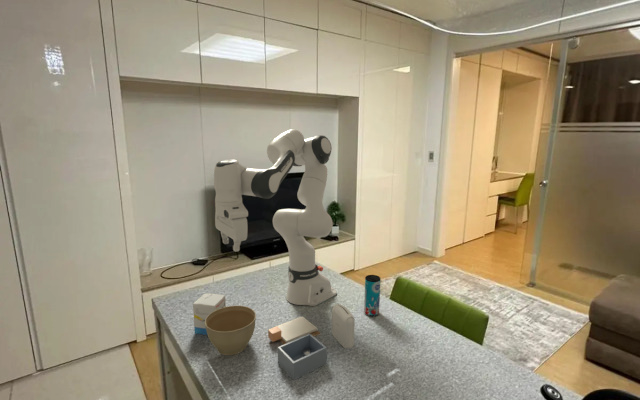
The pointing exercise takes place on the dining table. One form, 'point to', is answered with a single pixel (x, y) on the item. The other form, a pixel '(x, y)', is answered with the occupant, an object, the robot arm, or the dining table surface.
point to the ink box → (206, 310)
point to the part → (307, 352)
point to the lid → (291, 330)
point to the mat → (302, 336)
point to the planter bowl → (230, 328)
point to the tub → (301, 356)
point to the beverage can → (372, 295)
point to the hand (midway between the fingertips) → (230, 247)
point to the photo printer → (343, 325)
